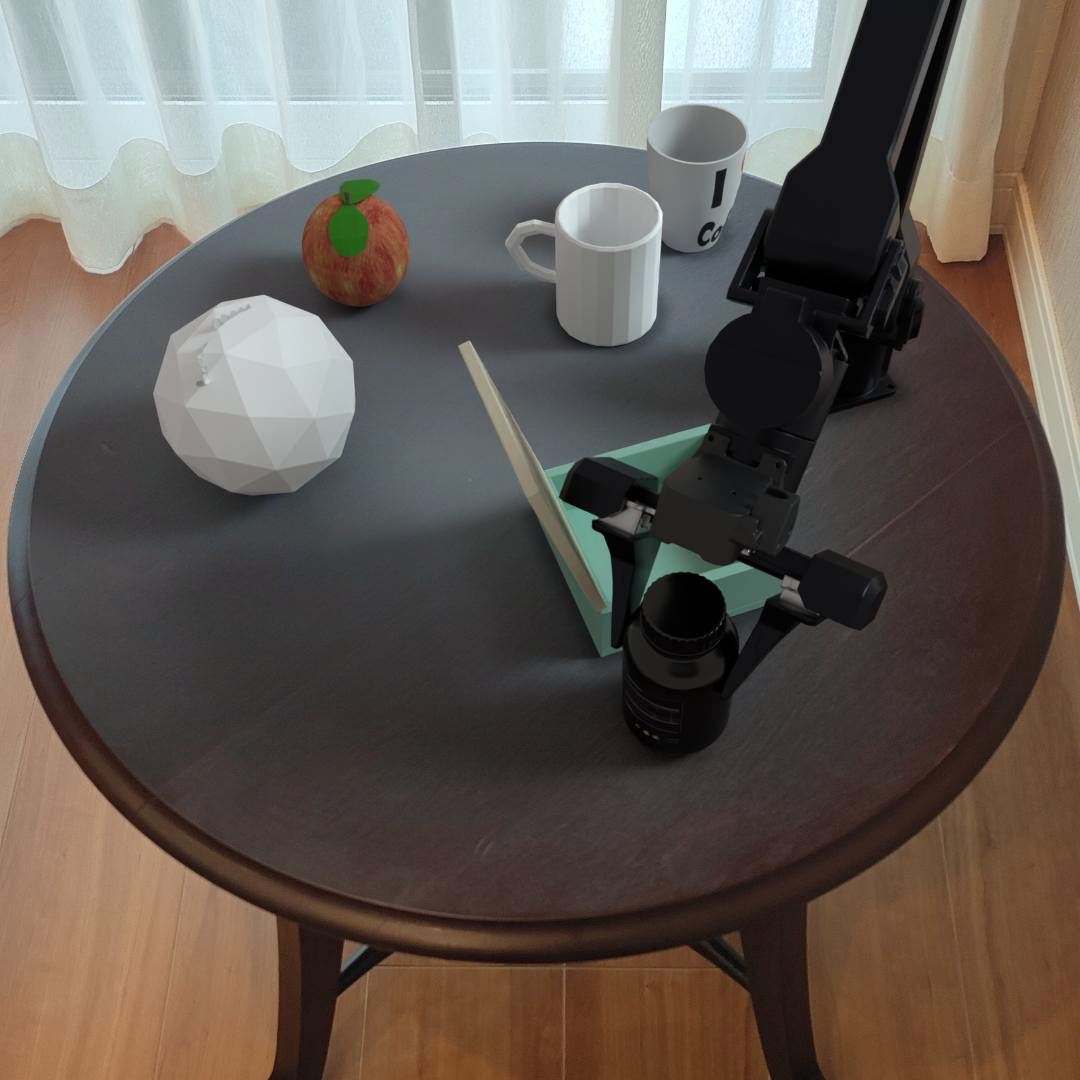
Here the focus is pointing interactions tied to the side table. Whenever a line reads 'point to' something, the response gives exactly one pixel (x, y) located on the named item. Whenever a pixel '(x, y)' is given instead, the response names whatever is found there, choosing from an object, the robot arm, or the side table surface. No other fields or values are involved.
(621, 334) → the mug
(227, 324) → the geodesic sphere
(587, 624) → the teal shallow box
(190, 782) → the side table surface
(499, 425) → the lid
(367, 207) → the fruit
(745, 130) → the cup
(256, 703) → the side table surface
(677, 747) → the supplement bottle
